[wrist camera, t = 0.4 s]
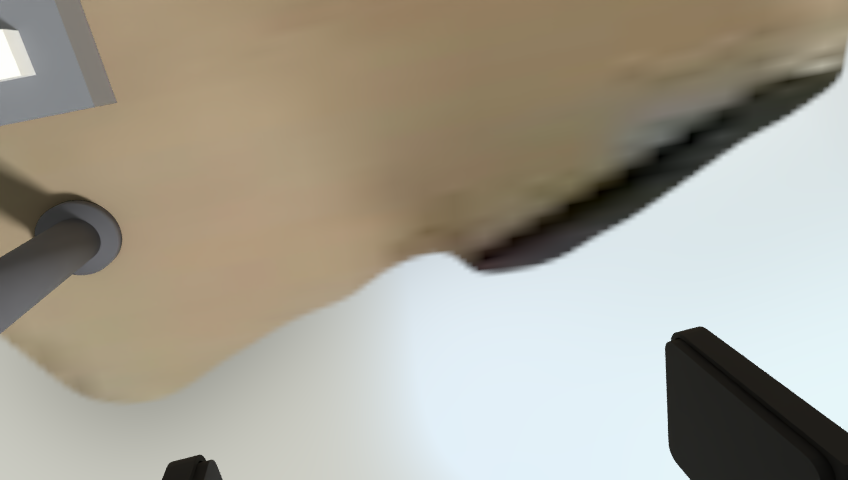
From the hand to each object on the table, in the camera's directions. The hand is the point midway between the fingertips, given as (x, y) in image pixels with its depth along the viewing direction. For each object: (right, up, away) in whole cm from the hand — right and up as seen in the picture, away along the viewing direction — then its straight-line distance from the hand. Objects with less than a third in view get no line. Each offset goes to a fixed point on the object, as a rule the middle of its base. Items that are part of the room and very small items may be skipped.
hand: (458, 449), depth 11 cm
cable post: (-24, +4, +27) cm, 36 cm away
